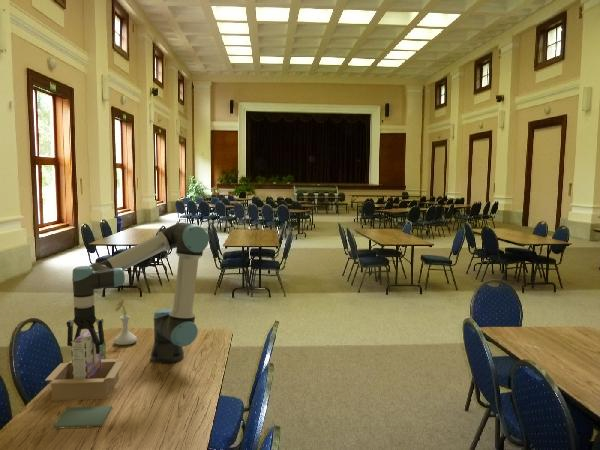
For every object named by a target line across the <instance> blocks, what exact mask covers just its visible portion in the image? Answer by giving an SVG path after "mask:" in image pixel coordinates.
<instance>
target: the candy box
mask: <svg viewBox="0 0 600 450" xmlns="http://www.w3.org/2000/svg"><path fill="white" fill-rule="evenodd" d="M95 332H96V334H97V336H98V339H99V333H98V329H97V330H96V329H95ZM99 341H100V340H99ZM94 346H95V343H94V341H93V339H92V336H91V334H90V332H89V330H88V329H85V331H84V332H81V333H80V336H79V337H77V338H76V339H74V338H73V341H72V342H71V346H70V350H71V360H72V373H73V379H90V378H91V377H92V376H93V375H94V374H95V373H96V372H97V371H98V370H100V369H101V350H100V353H99V354H98V361H97V362H96V363H94V349H93V347H94Z"/></svg>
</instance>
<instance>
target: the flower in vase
mask: <svg viewBox="0 0 600 450" xmlns="http://www.w3.org/2000/svg"><path fill="white" fill-rule="evenodd" d="M124 303H125V297H124V296H121V297H120V298H119V299H118V301H117V303H116V305H115V308H114V311H115V312H119V311H120V309H121V308H123V309H122V311H121V313H122V314H123V315H121V316H119V319H120V320H121V322H122V330H121V332H120V333H119V334H118V335H117V336H115V338H114V339H113V343H114V344H116V345H118V346H127V345H132V344H135V343H136V342H137V341H138V338H137V336H136V335H135V334H133V333H132V332H130V331H129V329H128V323H129V320H130V318H131V316H130V315H128V311H126V308H125V307H124Z"/></svg>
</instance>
